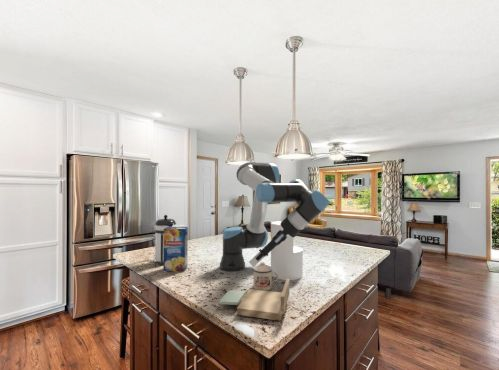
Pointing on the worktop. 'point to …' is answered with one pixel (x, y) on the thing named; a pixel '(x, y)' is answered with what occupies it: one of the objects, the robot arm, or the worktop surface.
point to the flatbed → (264, 303)
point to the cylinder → (286, 257)
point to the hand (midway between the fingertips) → (251, 264)
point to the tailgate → (232, 297)
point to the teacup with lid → (263, 277)
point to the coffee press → (161, 237)
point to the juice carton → (175, 248)
